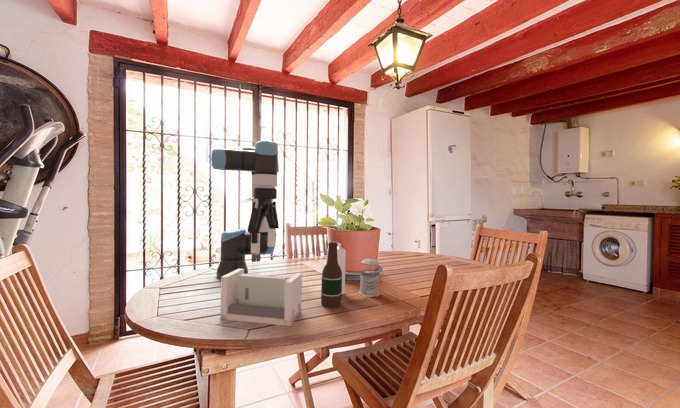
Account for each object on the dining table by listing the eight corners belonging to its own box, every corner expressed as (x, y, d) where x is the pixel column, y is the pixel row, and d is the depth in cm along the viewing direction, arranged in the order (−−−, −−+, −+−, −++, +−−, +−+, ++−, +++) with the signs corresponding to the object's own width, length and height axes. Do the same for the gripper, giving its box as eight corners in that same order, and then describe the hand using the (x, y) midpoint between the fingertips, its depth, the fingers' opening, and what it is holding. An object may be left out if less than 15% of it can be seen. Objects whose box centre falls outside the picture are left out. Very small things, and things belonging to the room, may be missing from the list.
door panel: (286, 311, 105) (287, 276, 105) (282, 314, 102) (283, 279, 102) (242, 307, 108) (243, 273, 107) (238, 310, 105) (239, 275, 104)
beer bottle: (345, 305, 117) (347, 243, 117) (330, 310, 112) (332, 244, 111) (331, 300, 123) (333, 240, 122) (316, 304, 117) (318, 242, 117)
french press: (353, 292, 133) (354, 235, 133) (373, 288, 140) (375, 234, 139) (367, 299, 125) (369, 238, 125) (388, 294, 132) (390, 236, 131)
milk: (333, 296, 127) (334, 244, 126) (325, 292, 132) (326, 241, 131) (344, 294, 131) (346, 242, 130) (336, 290, 136) (337, 240, 135)
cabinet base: (220, 318, 101) (221, 276, 100) (238, 306, 113) (239, 268, 112) (290, 326, 97) (291, 282, 97) (300, 312, 109) (302, 273, 108)
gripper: (269, 188, 117) (267, 243, 117) (237, 185, 92) (235, 255, 93) (288, 188, 115) (286, 244, 116) (260, 186, 91) (258, 257, 91)
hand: (263, 249), depth 104 cm, fingers open, 13 cm apart
